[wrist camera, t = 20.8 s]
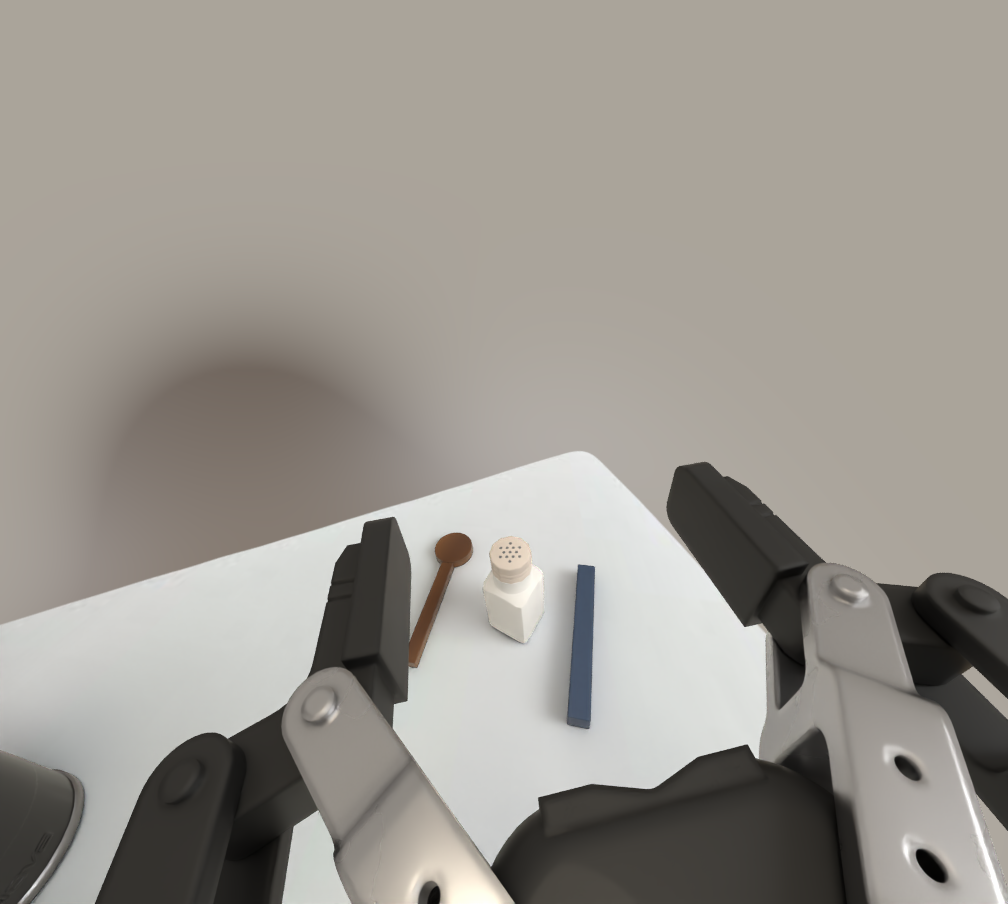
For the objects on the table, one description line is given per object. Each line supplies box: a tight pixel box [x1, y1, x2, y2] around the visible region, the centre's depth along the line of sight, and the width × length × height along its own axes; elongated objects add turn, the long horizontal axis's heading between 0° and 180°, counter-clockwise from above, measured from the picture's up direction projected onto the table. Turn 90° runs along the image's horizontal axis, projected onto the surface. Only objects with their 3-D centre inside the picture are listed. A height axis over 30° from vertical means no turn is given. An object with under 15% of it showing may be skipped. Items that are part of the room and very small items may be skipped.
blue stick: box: [567, 565, 595, 729], centre depth 32 cm, size 2×13×2 cm, turn 168°
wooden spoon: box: [409, 533, 473, 668], centre depth 37 cm, size 4×14×1 cm, turn 168°
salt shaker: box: [483, 536, 544, 643], centre depth 32 cm, size 4×4×10 cm
